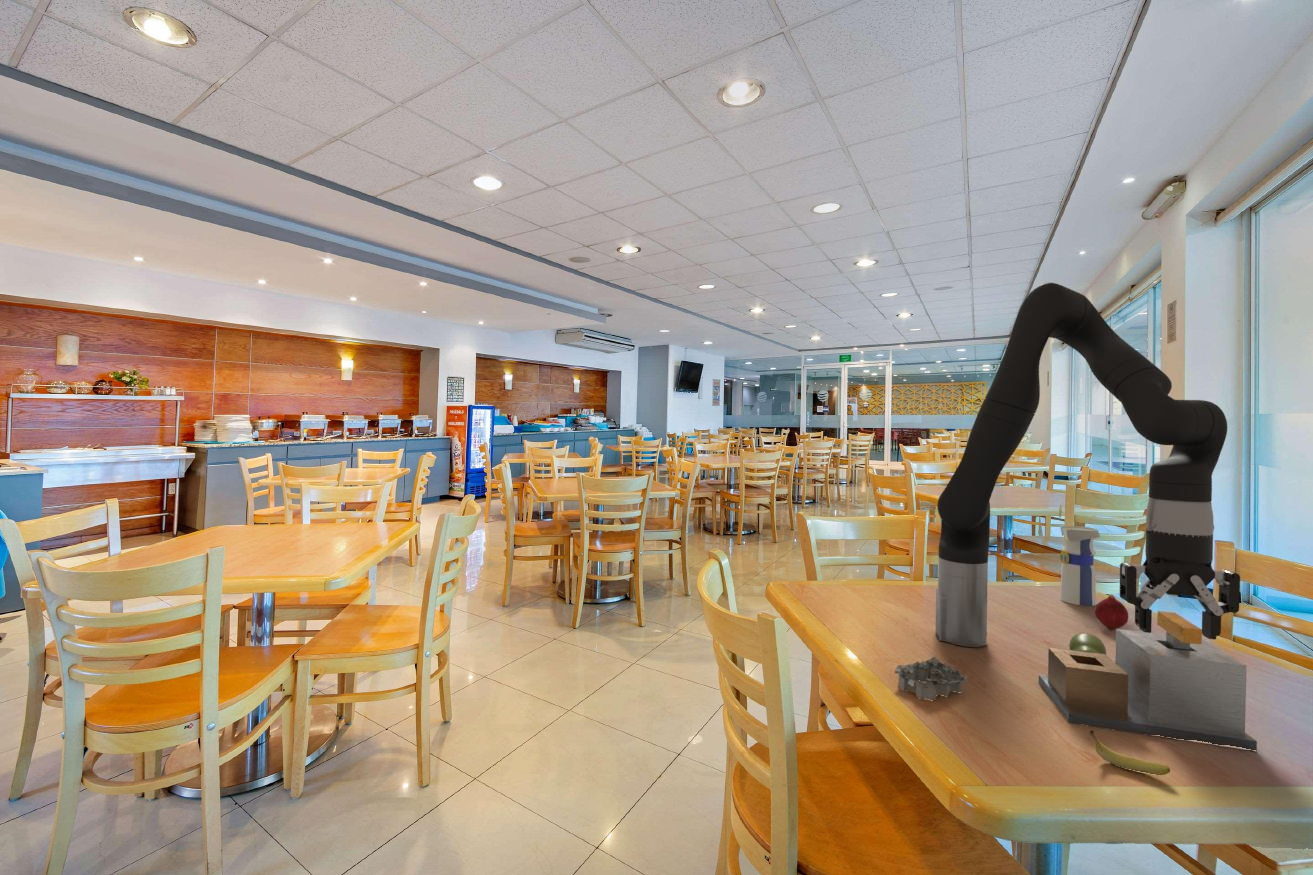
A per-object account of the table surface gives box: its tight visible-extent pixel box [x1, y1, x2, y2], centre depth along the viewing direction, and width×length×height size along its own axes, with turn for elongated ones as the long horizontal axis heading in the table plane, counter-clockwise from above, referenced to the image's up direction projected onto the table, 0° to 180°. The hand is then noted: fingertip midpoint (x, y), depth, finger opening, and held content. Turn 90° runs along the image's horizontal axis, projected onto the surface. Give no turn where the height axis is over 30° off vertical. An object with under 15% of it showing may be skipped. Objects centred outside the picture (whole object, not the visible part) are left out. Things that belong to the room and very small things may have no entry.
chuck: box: [1038, 628, 1258, 752], centre depth 86 cm, size 22×14×12 cm, turn 71°
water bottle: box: [1058, 505, 1101, 607], centre depth 143 cm, size 8×9×25 cm
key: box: [1156, 610, 1203, 651], centre depth 84 cm, size 7×2×8 cm, turn 161°
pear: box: [1068, 632, 1107, 655], centre depth 104 cm, size 6×5×10 cm
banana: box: [1088, 729, 1171, 776], centre depth 72 cm, size 8×2×4 cm, turn 50°
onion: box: [1094, 593, 1129, 631], centre depth 123 cm, size 6×6×8 cm
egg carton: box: [894, 656, 969, 701], centre depth 94 cm, size 11×8×4 cm
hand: (1176, 634), depth 84 cm, fingers open, 7 cm apart
